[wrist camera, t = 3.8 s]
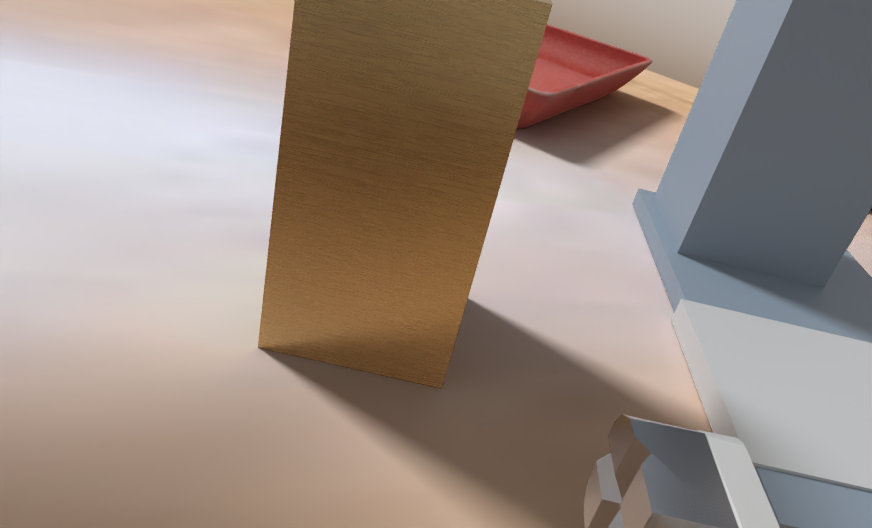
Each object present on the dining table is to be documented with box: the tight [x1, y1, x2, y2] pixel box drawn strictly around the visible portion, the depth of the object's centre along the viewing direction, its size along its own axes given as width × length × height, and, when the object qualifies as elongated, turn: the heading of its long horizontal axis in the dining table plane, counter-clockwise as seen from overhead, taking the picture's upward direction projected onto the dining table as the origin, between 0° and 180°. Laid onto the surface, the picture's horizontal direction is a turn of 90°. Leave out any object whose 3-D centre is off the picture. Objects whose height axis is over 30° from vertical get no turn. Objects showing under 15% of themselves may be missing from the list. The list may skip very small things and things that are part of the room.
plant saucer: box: [294, 0, 652, 128], centre depth 46 cm, size 18×18×3 cm
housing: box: [258, 0, 552, 388], centre depth 18 cm, size 5×5×12 cm
